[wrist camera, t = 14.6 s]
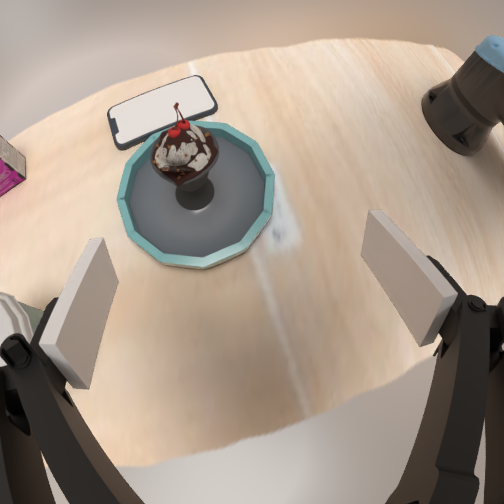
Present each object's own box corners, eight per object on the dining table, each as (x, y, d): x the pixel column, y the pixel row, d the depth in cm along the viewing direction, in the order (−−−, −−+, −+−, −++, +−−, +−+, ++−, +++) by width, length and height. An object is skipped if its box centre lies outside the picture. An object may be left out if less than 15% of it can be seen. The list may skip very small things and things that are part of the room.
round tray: (235, 116, 40) (235, 104, 38) (295, 231, 38) (300, 224, 35) (111, 166, 38) (104, 156, 35) (154, 293, 35) (147, 291, 32)
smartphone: (200, 78, 43) (108, 114, 40) (199, 72, 41) (105, 108, 38) (220, 114, 41) (119, 155, 39) (220, 108, 40) (116, 149, 37)
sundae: (198, 159, 38) (185, 81, 23) (231, 194, 37) (234, 124, 22) (158, 189, 36) (122, 122, 22) (190, 227, 36) (165, 172, 21)
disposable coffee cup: (38, 376, 31) (-32, 393, 16) (28, 301, 33) (-45, 291, 18) (98, 378, 32) (32, 406, 17) (87, 296, 34) (15, 283, 19)
